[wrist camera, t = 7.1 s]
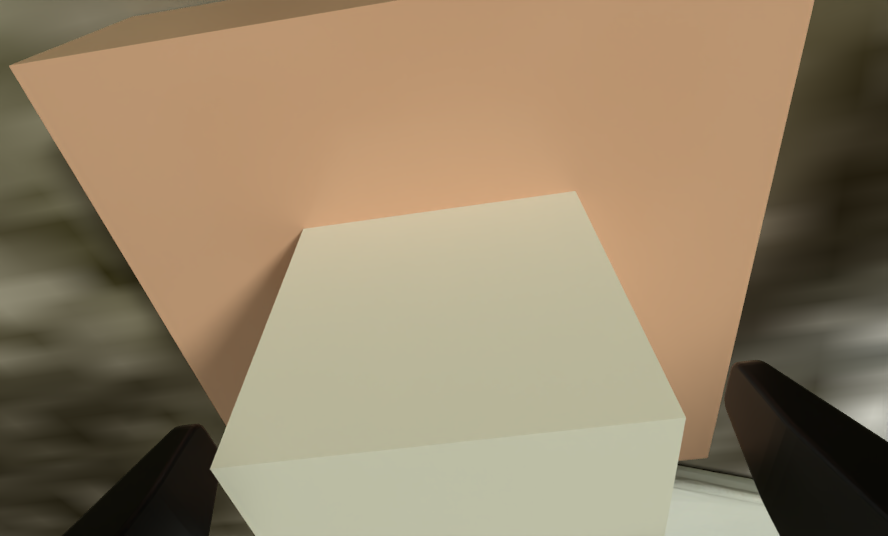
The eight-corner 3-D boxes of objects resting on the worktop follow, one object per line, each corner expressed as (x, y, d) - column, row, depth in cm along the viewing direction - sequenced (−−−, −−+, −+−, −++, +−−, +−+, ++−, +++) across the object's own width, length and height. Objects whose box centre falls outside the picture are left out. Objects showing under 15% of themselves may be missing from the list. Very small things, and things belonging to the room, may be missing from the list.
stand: (706, -82, 10) (831, -74, 7) (655, 351, 17) (707, 457, 14) (131, 16, 11) (9, 65, 8) (301, 393, 18) (272, 502, 15)
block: (575, 191, 9) (685, 417, 5) (575, 382, 12) (647, 626, 8) (303, 228, 10) (209, 469, 6) (365, 406, 13) (333, 651, 8)
